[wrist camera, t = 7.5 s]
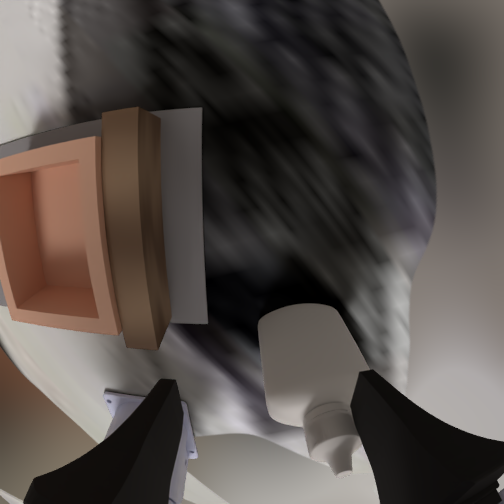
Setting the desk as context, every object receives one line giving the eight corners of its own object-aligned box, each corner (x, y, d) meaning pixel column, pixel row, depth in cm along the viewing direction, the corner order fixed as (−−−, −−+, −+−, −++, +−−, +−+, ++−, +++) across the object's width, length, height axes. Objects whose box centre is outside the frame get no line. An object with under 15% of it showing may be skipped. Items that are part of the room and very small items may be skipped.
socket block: (141, 300, 19) (118, 335, 14) (43, 293, 18) (12, 320, 14) (129, 141, 16) (95, 135, 11) (25, 160, 15) (-15, 163, 11)
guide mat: (208, 322, 20) (207, 323, 19) (-17, 301, 19) (-18, 302, 19) (202, 108, 16) (201, 107, 15) (-38, 161, 15) (-39, 161, 15)
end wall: (171, 316, 19) (157, 350, 15) (145, 315, 19) (126, 347, 15) (160, 118, 15) (138, 106, 12) (130, 121, 15) (102, 112, 11)
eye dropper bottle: (317, 355, 21) (363, 491, 10) (248, 336, 20) (257, 492, 9) (345, 309, 20) (423, 443, 8) (274, 284, 19) (313, 443, 7)
